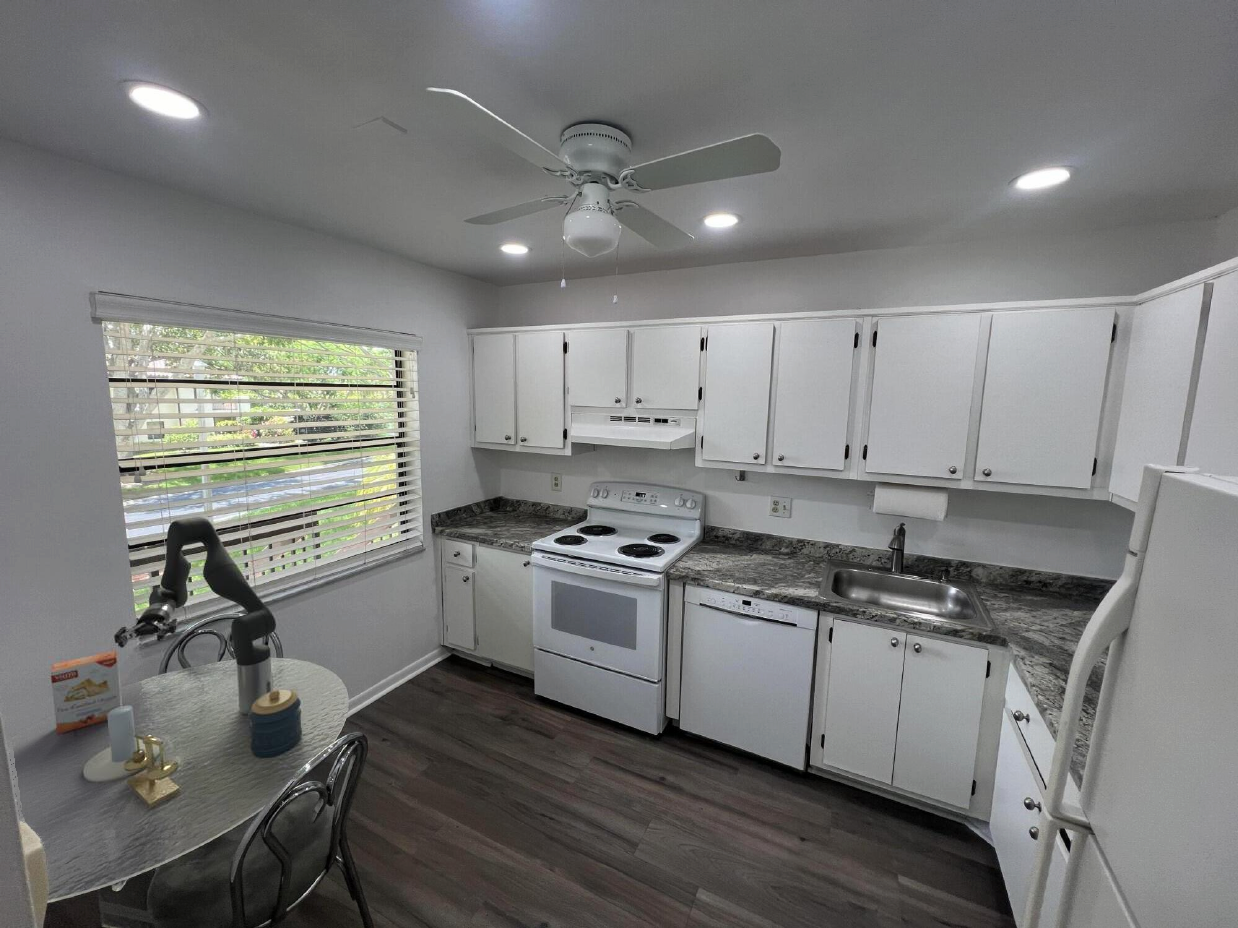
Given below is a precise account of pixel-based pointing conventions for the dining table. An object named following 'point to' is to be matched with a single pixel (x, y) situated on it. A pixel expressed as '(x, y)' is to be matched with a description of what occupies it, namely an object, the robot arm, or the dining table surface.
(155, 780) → the brass balance
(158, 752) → the cream plate
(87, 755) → the dining table surface
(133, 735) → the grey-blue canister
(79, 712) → the cracker box
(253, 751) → the canister
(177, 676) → the dining table surface
